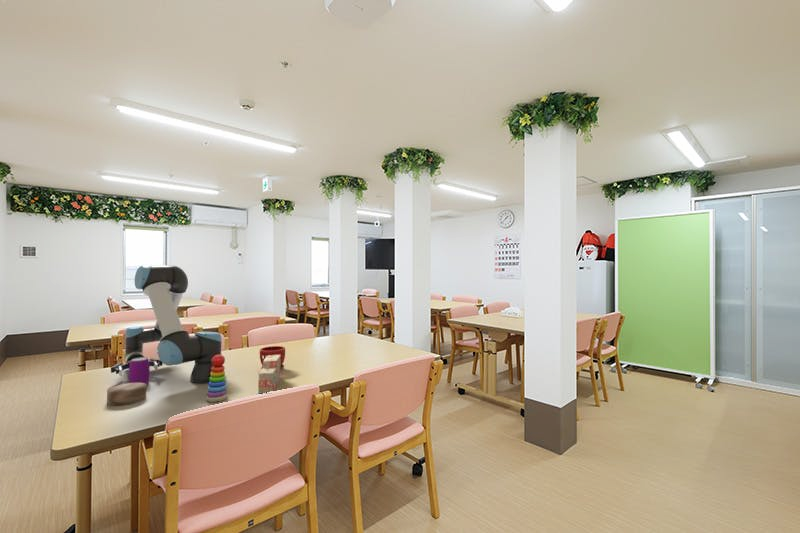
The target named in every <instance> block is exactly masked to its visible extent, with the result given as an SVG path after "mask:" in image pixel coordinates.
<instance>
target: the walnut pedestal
mask: <svg viewBox="0 0 800 533" xmlns="http://www.w3.org/2000/svg"><path fill="white" fill-rule="evenodd" d="M146 398H147V384H145V383H129V382H128V383H122V384H117V385H114V386H111V387H110V388H108V389H107V390H106V404H107V405H108V406H113V407H115V406H116V407H119V406H127V405H132V404H135V403H138V402H142V401H143V400H145V399H146Z"/></svg>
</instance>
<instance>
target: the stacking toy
mask: <svg viewBox="0 0 800 533" xmlns="http://www.w3.org/2000/svg"><path fill="white" fill-rule="evenodd" d="M225 362H226V358H225V356H224V355H222V354H221V355H215V356H214V357H213V358H212V364H213V365H214V366H213V367H212V368H211V370H212V372H211V373H210V375H211V377H210V382H209V383H208V387H207V391H206V396H205V400H206V401H207V402H210V403H217V401H218V402H222V401H224V400H225V399H226V398H228V393H227V384H226V382H227V381H226V372H224V371H225V368H226V367H225V365H224V364H225ZM223 370H224V371H223ZM224 374H225V375H224Z"/></svg>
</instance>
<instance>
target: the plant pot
mask: <svg viewBox="0 0 800 533" xmlns="http://www.w3.org/2000/svg"><path fill="white" fill-rule="evenodd" d="M268 355H281V360H280V361H281V365H280V371H281V370H283V369H284V368H285V365H284V362H285V358H286V347H285V346H281V345H278V346H277V345H272V346H271V345H270V346H265V347H262V348H260V349H259V360H260V363H261V368H260V369H261V370H262V369H263V361H264V359H265V358H266V356H268Z"/></svg>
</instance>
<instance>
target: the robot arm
mask: <svg viewBox="0 0 800 533" xmlns="http://www.w3.org/2000/svg"><path fill="white" fill-rule="evenodd" d="M188 285H189V280H188V276H187V274H186V272H185V271H184V270H183V269H182V268H180V267H179V266H177V265H150V264H148V265H140V266H139V267H138V268H137V269H136V271H135V276H134V286H135V289H136V290H142V292H143V294H144V295H145V296H147V297H148V298H149V302H150V305H151V307H152V310H153V314H154V316H155V319H156V322H155V324H154V327H153V328H145V329H144V327H143V326H139V325H138V326H129V327H127V328H126V330H125V335H124V337H125V341H124V342H125V346H124V347H125V349H124V352H125V353H124V360H125V362H123V361H119V362H118V363H116V364H114V365H113V366H111V367H110V373H111V374H113V373H115V374H116V375H119V376H122V374H123V371H125V370H129V366H130V362H131V360H132V359H134V358H139V357H145V356H144V354H143V353H144V351H143V350H144V344H149V343H154V342H159V343H158V344H157V347H156V348H157V349H156V350H157V355H158V358H159V359H157V358H153V357H150V358H148V360H149V362H150V367H153V368H154V371H158V368H159V367H160V366H161V367H162V366H163V365H165V366H177V365H182V364H185V363H191V362H194V366H193V367H192V371H191V373H190V377H189V378H190V382H191V383H194V384H209V382H210V377H211V375H210V373H211V372H212V370H211V368H212V367H213V366H214V365H213V364H212V358H213V357H214V356H215V355H222V343H223V340H222V334H221V333H219V332H217V331H196V332H195V333H194V335H192V336H190V334H189V332H188V331H187V330H185V329H183V326H182V323H181V321H180V318H179V317H180V316H179V315H178V312H177V311H178V308H179V305H180V303H181V300H182V298H183V295H184V294H185V293H186V292H187V289H188ZM223 371H224V372H225V369H224V370H223ZM224 375H225V376H226V372H225V374H224Z"/></svg>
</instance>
